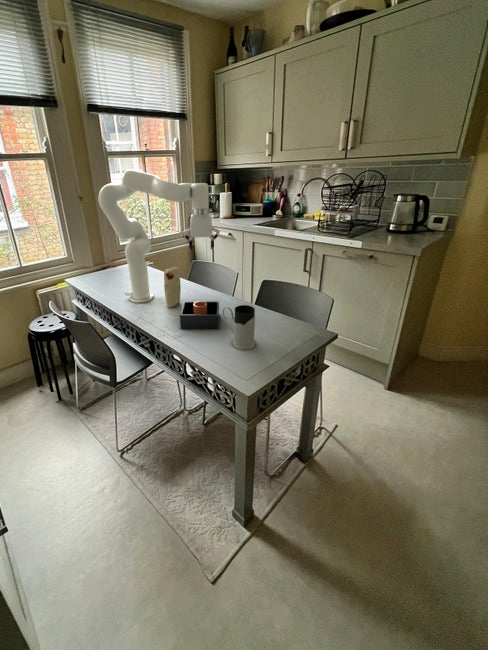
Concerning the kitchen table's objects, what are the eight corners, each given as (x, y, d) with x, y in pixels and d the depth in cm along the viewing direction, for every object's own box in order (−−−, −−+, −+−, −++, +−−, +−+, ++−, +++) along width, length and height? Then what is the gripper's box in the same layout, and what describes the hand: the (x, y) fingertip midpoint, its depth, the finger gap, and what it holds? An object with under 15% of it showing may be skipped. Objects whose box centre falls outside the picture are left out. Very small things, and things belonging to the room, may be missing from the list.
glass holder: (247, 351, 119) (248, 316, 113) (216, 340, 128) (216, 306, 122) (259, 342, 125) (260, 307, 119) (229, 331, 134) (229, 299, 128)
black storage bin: (180, 329, 138) (179, 315, 135) (184, 314, 151) (183, 301, 148) (218, 329, 136) (218, 315, 133) (219, 314, 149) (219, 301, 146)
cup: (193, 323, 141) (192, 306, 137) (194, 317, 146) (193, 301, 143) (207, 323, 140) (206, 306, 137) (207, 317, 145) (207, 301, 142)
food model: (172, 310, 156) (169, 271, 148) (162, 306, 160) (159, 269, 152) (184, 303, 163) (182, 266, 155) (175, 300, 167) (172, 264, 159)
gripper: (219, 210, 146) (219, 246, 153) (182, 211, 148) (184, 247, 155) (219, 212, 140) (219, 250, 147) (180, 213, 141) (182, 251, 148)
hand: (201, 248), depth 151 cm, fingers open, 9 cm apart
